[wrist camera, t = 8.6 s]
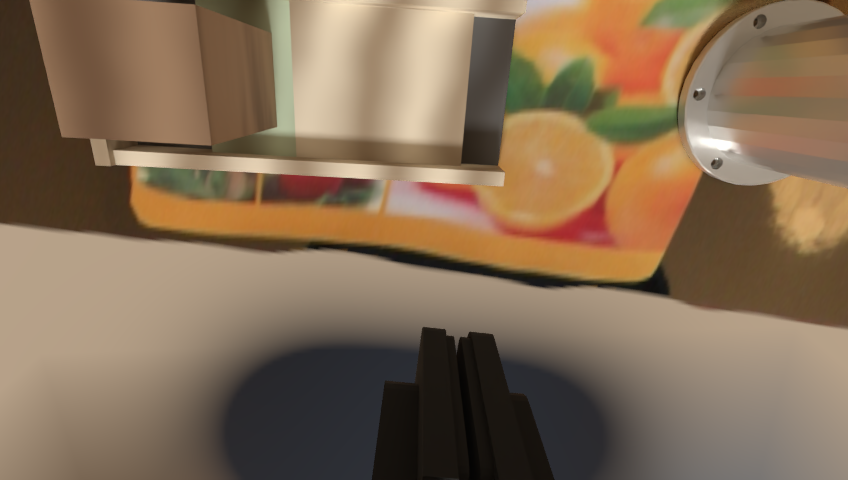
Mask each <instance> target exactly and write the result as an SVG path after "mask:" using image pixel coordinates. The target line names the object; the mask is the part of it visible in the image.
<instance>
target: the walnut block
mask: <svg viewBox="0 0 848 480" xmlns="http://www.w3.org/2000/svg"><path fill="white" fill-rule="evenodd" d="M30 4H31V9H32V13H33V17H34V21H35V26H36V30H37V34H38V38H39V42H40V47H41V51H42V55H43V59H44V63H45V68H46V72H47V76H48V80H49V85H50V89H51V93H52V97H53V101H54V106H55V110H56V114H57V118H58V122H59V127H60V131H61V135H62V137H71V138H88V139H106V140H123V141H141V142H158V143H175V144H193V145H210V146H212V145H215V144H219V143H222V142H226V141H229V140H233V139H237V138H240V137H244V136H247V135H251V134H254V133H258V132H261V131H265V130H268V129H272V128H276V127H277V115H276V98H275V82H274V65H273V49H272V33H270V32H267V31H264V30H262V29H259V28H256V27H254V26H251V25H248V24H246V23H243V22H240V21H238V20H235V19H232V18H230V17H227V16H224V15H222V14H219V13H216V12H214V11H211V10H208V9H206V8H203V7H200V6H198V5H195V4H181V3H166V2H152V1H137V0H30Z"/></svg>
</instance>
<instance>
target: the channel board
mask: <svg viewBox="0 0 848 480" xmlns="http://www.w3.org/2000/svg"><path fill="white" fill-rule="evenodd" d="M137 1H152V2H166V3H181V4H195V5H198V6H200V7H203V8H206V9H208V10H211V11H214V12H216V13H219V14H222V15H224V16H227V17H230V18H232V19H235V20H238V21H240V22H243V23H246V24H248V25H251V26H254V27H256V28H259V29H262V30H264V31H267V32H270V33H272V49H273V65H274V82H275V98H276V115H277V127H276V128H272V129H268V130H265V131H261V132H258V133H254V134H251V135H247V136H244V137H240V138H237V139H233V140H229V141H226V142H222V143H219V144H215V145H212V146H210V145H193V144H175V143H158V142H141V141H123V140H106V139H90V140H91V145H92V150H93V154H94V159H95V164H96V165H100V166H113V165H128V166H146V167H164V168H182V169H200V170H218V171H236V172H254V173H272V174H290V175H308V176H326V177H344V178H362V179H380V180H398V181H416V182H434V183H452V184H470V185H489V186H503V184H504V176H505V172H504V171H503V170H502V169H501V168H500V167H499V166H498V161H499V153H500V145H501V137H502V128H503V120H504V112H505V104H506V95H507V87H508V79H509V71H510V62H511V54H512V46H513V38H514V30H515V21H516V19H517V18H519V17H520V16H522V15H523V14H525V12H526V5H527V0H137Z"/></svg>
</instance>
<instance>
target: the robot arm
mask: <svg viewBox="0 0 848 480" xmlns="http://www.w3.org/2000/svg"><path fill="white" fill-rule="evenodd" d="M693 93H694V96H693ZM678 127H679V133H680V137H681V141H682V144H683V147H684V148H685V150H686V152H687V154H688V156H689V158H690V159H691V160H692V161H693V162H694V163H695V165H696V166H697V167H698V168H699V169H701V170H702V171H704V172H705V173H706V174H708V175H709V176H712V177H714V178H717V179H719V180H722V181H725V182H729V183H733V184H737V185H760V184H768V183H771V182H775V181H778V180H781V179H784V178H786V177H789V176H791V175H792V176H796V177H801V178H805V179H809V180H813V181H818V182H822V183H826V184H831V185H835V186H839V187H843V188H848V15H845V14H843V13H842V12H841V11H840V10H839V9H837V8H835V7H833V6H831V5H829V4H827V3H825V2H821V1H816V0H784V1H779V2H775V3H770V4H767V5H764V6H761V7H758V8H756V9H753V10H751V11H749V12H747V13H745V14H743V15H742V16H740V17H738V18H736V19H734V20H733V21H732V22H731V23H729V24H728V25H727V26H726V27H724V28H723V29H722V30H720V31H719V32H718V33H717V34H716V35H715V36H714V37H713V38H712V40H711V41H710V42H709V43H708V44H707V45H706V46H705V47H704V49H703V50H702V51H701V53H700V54H699V56H698V57H697V59H696V60H695V62H694V63H693V65H692V67H691V69H690V71H689V73H688V75H687V77H686V79H685V82H684V86H683V89H682V92H681V96H680V101H679V109H678ZM372 480H554V477H553V474H552V471H551V468H550V465H549V462H548V459H547V456H546V453H545V450H544V447H543V444H542V441H541V438H540V435H539V432H538V429H537V426H536V423H535V420H534V417H533V414H532V410H531V407H530V404H529V402H528V399H527V397H526V396H525V395H524V394H518V393H509V390H508V386H507V382H506V379H505V375H504V371H503V368H502V364H501V361H500V357H499V354H498V350H497V346H496V343H495V339H494V336H493V334H486V333H477V332H469V334H468V337H467V338H465V337H460V340H459V344H458V350H457V355H456V349H455V340H454V337H453V336H446V330H445V329H437V328H427V327H423V328H422V335H421V342H420V349H419V356H418V364H417V371H416V378H415V384H414V383H404V382H393V381H385V385H384V392H383V400H382V407H381V415H380V423H379V430H378V438H377V446H376V453H375V460H374V469H373V475H372Z"/></svg>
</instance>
